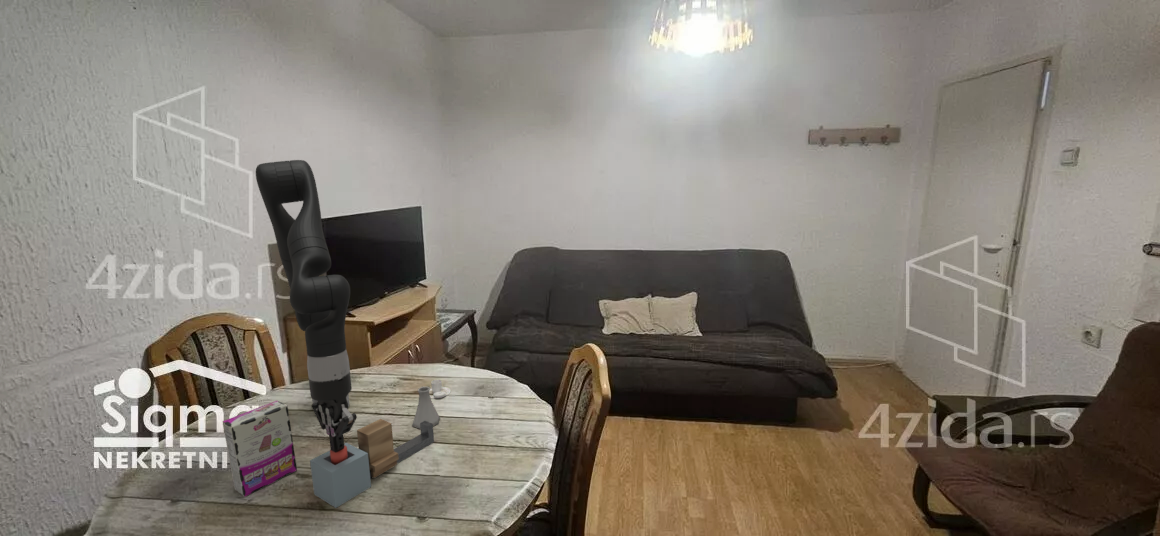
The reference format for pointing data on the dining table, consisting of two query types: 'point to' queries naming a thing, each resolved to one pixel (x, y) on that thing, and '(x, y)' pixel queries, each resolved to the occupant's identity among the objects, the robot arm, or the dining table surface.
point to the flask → (425, 409)
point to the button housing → (340, 476)
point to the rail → (415, 442)
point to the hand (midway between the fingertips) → (337, 449)
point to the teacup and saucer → (438, 389)
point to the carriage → (378, 446)
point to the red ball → (338, 456)
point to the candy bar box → (260, 447)
